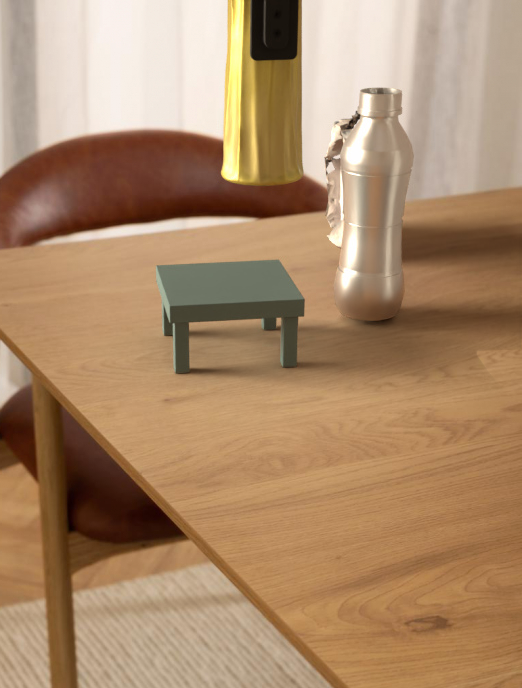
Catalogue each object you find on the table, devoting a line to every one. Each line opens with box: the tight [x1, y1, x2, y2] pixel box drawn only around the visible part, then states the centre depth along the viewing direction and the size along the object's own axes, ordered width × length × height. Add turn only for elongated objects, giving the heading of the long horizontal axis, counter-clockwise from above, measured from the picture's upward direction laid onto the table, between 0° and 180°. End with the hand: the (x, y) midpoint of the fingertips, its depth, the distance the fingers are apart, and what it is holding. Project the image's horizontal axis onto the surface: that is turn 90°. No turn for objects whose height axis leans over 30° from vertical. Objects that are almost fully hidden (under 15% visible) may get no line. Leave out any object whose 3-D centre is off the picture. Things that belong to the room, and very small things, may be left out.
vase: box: [220, 0, 304, 187], centre depth 84 cm, size 6×6×14 cm
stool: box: [155, 259, 306, 374], centre depth 101 cm, size 11×11×6 cm
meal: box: [323, 110, 361, 248], centre depth 127 cm, size 15×4×13 cm, turn 2°
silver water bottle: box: [333, 87, 415, 322], centre depth 104 cm, size 6×7×20 cm
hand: (264, 50), depth 84 cm, fingers closed on vase, 5 cm apart
